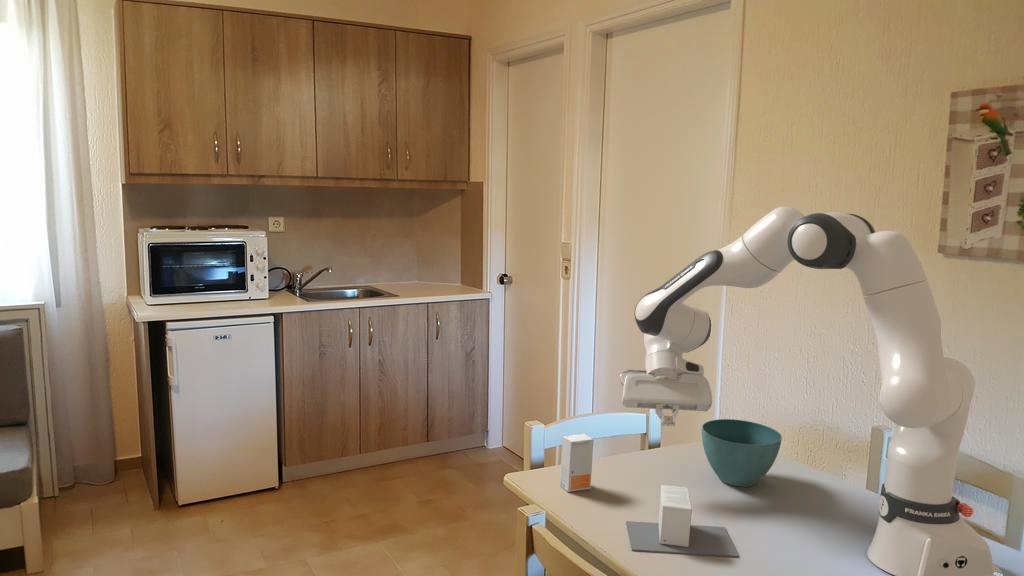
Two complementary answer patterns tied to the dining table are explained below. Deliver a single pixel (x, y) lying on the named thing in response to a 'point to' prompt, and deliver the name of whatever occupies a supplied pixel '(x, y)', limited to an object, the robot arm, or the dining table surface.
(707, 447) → the teal bowl
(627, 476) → the dining table surface
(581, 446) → the skincare box
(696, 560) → the dining table surface
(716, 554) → the mat
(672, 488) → the small box
